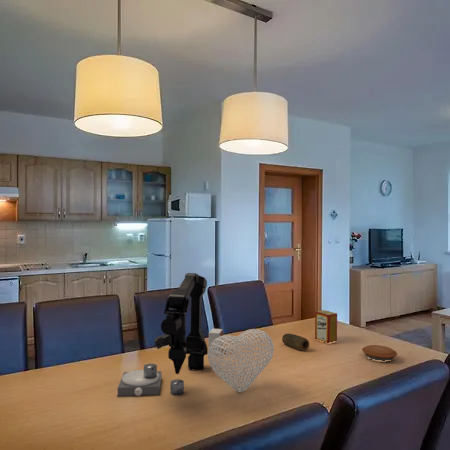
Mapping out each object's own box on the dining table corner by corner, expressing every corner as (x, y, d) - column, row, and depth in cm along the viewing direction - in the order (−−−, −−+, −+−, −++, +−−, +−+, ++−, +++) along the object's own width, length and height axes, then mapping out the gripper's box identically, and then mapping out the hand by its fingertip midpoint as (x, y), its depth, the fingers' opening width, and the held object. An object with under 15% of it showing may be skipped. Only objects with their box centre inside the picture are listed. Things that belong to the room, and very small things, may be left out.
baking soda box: (336, 342, 212) (337, 312, 212) (328, 344, 209) (328, 314, 209) (323, 338, 220) (323, 309, 220) (315, 339, 217) (315, 310, 217)
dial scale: (161, 378, 161) (161, 368, 161) (159, 395, 145) (159, 384, 145) (123, 379, 159) (123, 369, 159) (117, 396, 144) (117, 385, 143)
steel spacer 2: (183, 389, 151) (183, 379, 151) (183, 395, 146) (183, 384, 146) (170, 390, 150) (170, 379, 150) (170, 395, 145) (170, 384, 145)
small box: (219, 355, 190) (219, 333, 190) (208, 354, 191) (208, 332, 191) (222, 349, 198) (223, 328, 198) (212, 349, 199) (212, 328, 199)
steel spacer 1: (157, 373, 156) (157, 363, 156) (156, 378, 151) (156, 368, 151) (144, 373, 155) (144, 363, 155) (142, 378, 150) (143, 368, 150)
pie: (361, 361, 184) (361, 350, 184) (362, 351, 198) (363, 341, 198) (397, 366, 178) (397, 355, 178) (396, 355, 193) (396, 345, 193)
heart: (226, 410, 134) (226, 345, 134) (198, 394, 146) (199, 334, 146) (281, 388, 152) (282, 331, 152) (253, 376, 164) (254, 322, 164)
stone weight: (311, 350, 199) (311, 337, 199) (302, 353, 195) (302, 339, 195) (289, 343, 211) (289, 330, 211) (279, 345, 207) (280, 332, 207)
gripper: (157, 321, 156) (157, 360, 156) (154, 335, 138) (153, 379, 138) (186, 321, 157) (185, 360, 158) (186, 334, 139) (185, 378, 139)
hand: (177, 369), depth 148 cm, fingers open, 9 cm apart
